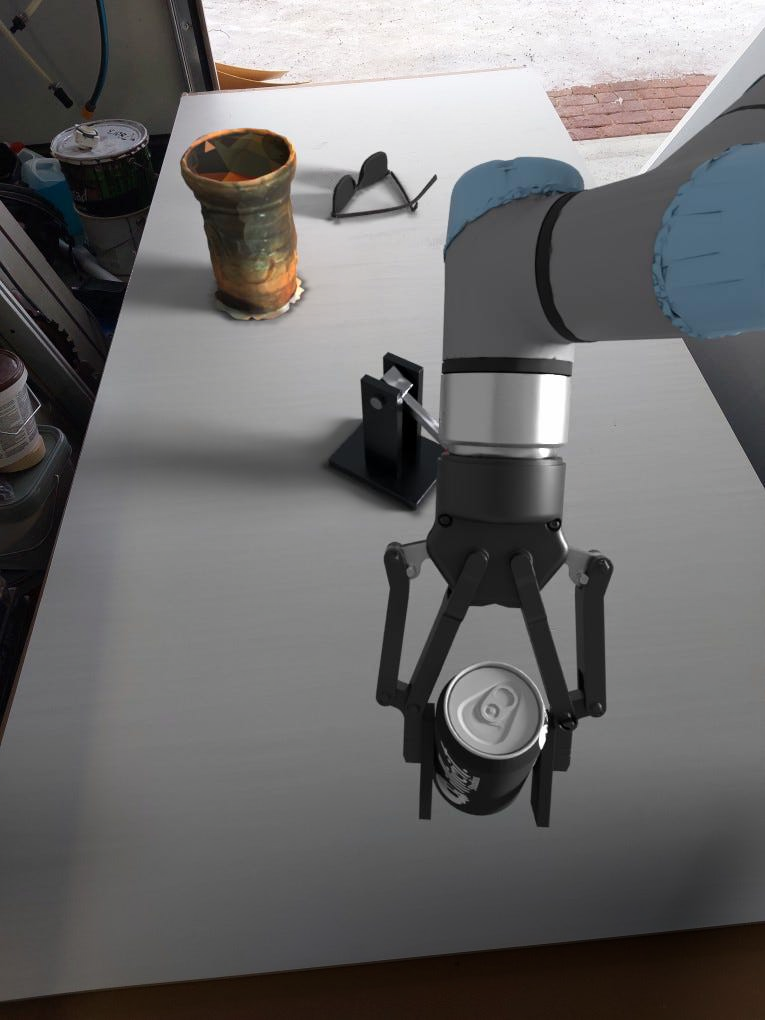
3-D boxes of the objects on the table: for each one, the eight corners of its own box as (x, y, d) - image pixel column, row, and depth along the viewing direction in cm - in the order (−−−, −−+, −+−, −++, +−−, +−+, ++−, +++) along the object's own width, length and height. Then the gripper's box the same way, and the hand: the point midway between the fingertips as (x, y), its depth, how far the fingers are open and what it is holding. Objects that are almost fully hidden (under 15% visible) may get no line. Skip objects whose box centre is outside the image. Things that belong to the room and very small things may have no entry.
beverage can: (411, 770, 49) (412, 708, 39) (470, 705, 52) (486, 633, 42) (482, 840, 46) (503, 792, 37) (542, 768, 49) (575, 705, 39)
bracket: (457, 459, 80) (466, 369, 69) (415, 511, 76) (418, 424, 65) (372, 418, 85) (368, 328, 73) (328, 465, 80) (317, 376, 69)
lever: (469, 460, 74) (486, 450, 72) (454, 480, 73) (471, 470, 70) (384, 374, 73) (398, 360, 70) (367, 392, 71) (380, 378, 68)
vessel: (332, 284, 101) (319, 144, 85) (266, 335, 94) (239, 194, 78) (260, 251, 106) (235, 114, 90) (192, 298, 100) (153, 158, 84)
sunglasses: (400, 243, 107) (400, 213, 103) (325, 217, 112) (322, 187, 108) (453, 194, 115) (455, 164, 111) (381, 172, 120) (380, 142, 116)
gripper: (649, 452, 44) (620, 788, 47) (344, 442, 45) (337, 771, 48) (694, 460, 37) (656, 858, 40) (328, 448, 38) (321, 836, 41)
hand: (482, 810), depth 44 cm, fingers closed on beverage can, 7 cm apart
